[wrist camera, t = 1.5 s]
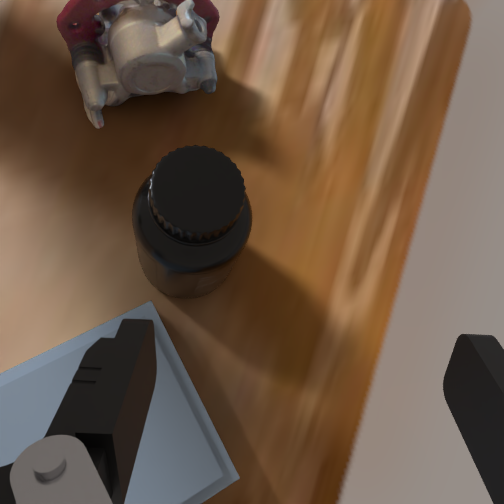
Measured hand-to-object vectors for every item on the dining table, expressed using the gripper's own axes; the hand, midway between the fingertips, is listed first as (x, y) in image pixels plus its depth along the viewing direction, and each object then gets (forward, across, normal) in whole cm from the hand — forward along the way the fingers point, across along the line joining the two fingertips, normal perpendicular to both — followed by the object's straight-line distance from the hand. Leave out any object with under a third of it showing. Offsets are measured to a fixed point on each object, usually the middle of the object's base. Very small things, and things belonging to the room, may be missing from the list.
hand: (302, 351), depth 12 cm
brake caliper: (+30, +11, -2) cm, 32 cm away
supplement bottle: (+20, +6, +9) cm, 23 cm away
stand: (+10, +10, +17) cm, 22 cm away
